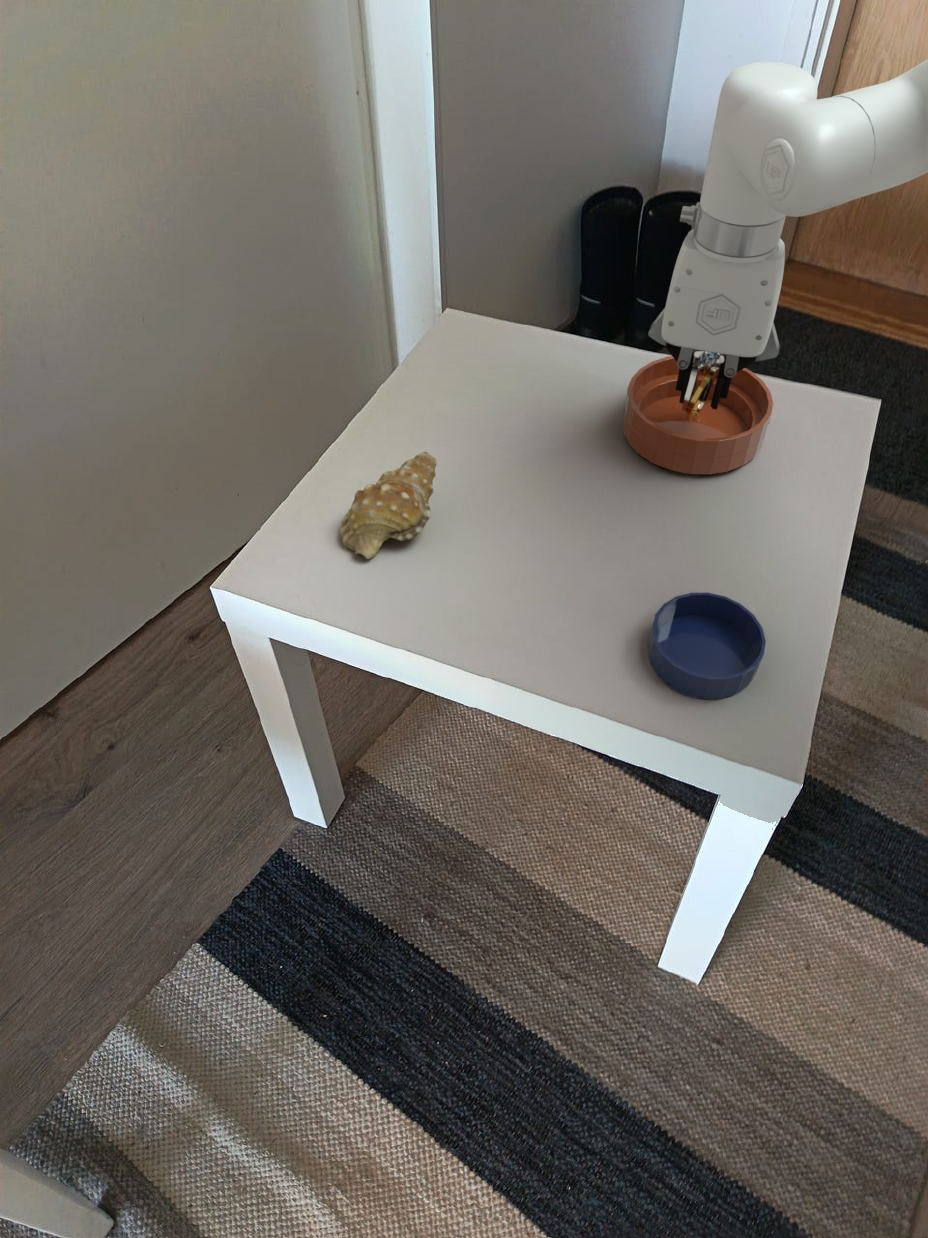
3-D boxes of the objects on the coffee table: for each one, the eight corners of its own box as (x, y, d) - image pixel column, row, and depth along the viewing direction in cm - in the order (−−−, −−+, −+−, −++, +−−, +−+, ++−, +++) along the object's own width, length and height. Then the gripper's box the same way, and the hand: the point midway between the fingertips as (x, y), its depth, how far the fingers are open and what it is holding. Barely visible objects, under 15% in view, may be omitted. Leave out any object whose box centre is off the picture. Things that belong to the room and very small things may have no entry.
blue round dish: (762, 628, 77) (771, 606, 75) (749, 712, 72) (758, 691, 69) (658, 603, 79) (663, 582, 77) (637, 683, 74) (642, 662, 71)
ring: (692, 439, 90) (709, 374, 84) (665, 427, 92) (680, 363, 85) (721, 405, 94) (739, 341, 88) (694, 395, 95) (710, 331, 89)
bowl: (768, 405, 97) (780, 367, 94) (751, 491, 88) (763, 453, 85) (637, 382, 101) (643, 344, 97) (609, 462, 92) (614, 424, 88)
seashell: (363, 520, 92) (389, 432, 87) (431, 551, 90) (460, 463, 86) (323, 544, 83) (349, 449, 79) (397, 578, 82) (428, 484, 78)
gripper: (640, 234, 76) (616, 405, 91) (829, 260, 73) (774, 434, 87) (656, 196, 81) (631, 365, 95) (835, 219, 77) (782, 391, 91)
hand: (700, 397), depth 91 cm, fingers closed on ring, 2 cm apart
